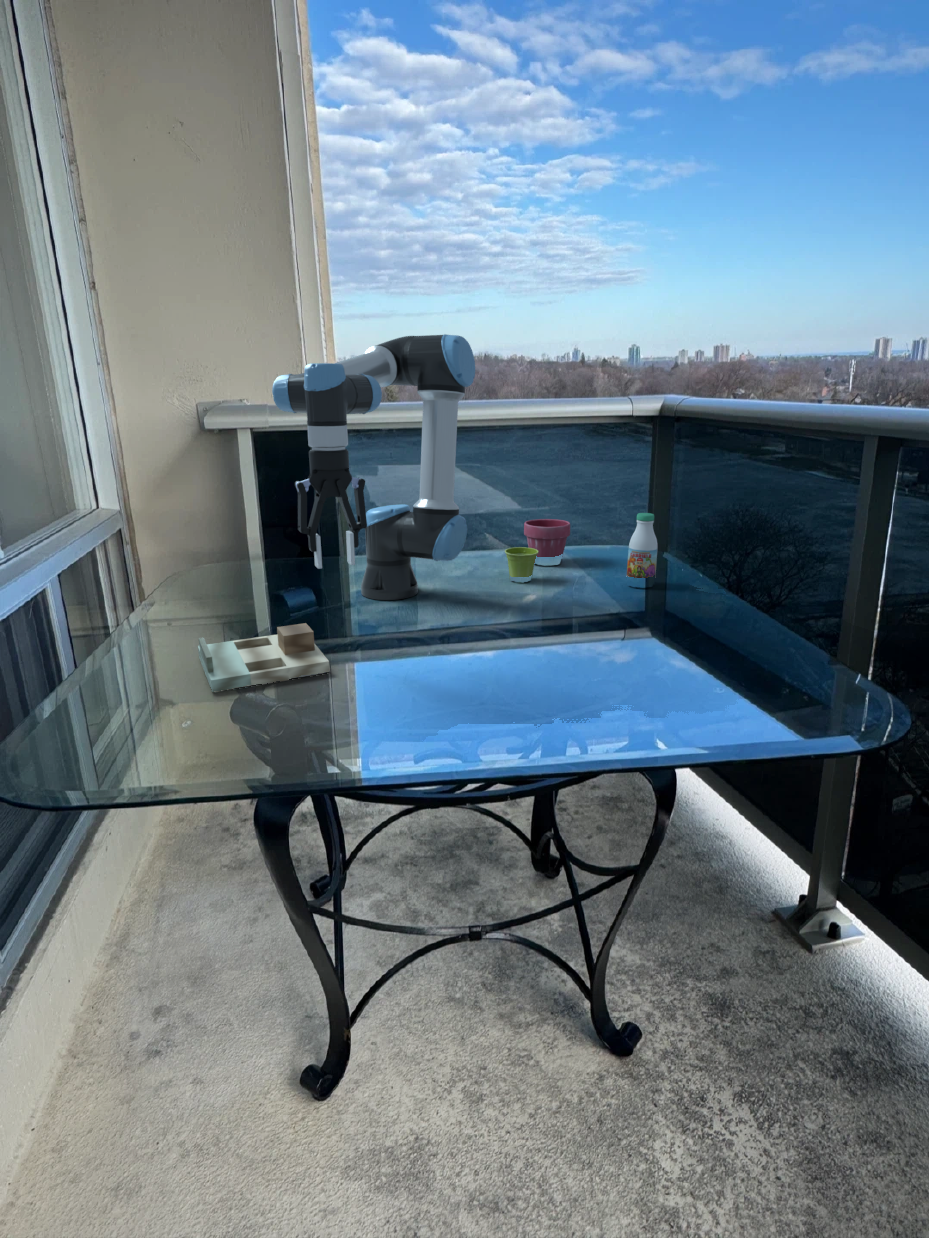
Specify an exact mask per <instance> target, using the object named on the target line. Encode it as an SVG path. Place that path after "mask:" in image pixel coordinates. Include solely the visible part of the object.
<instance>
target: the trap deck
mask: <svg viewBox="0 0 929 1238" xmlns="http://www.w3.org/2000/svg"><path fill="white" fill-rule="evenodd" d="M197 640H198V645H197V652H198V658H199V661H200V663H201V667H202V669H203V672H204V674H205V677H206V679H207V680H206V681H207V682H208V684H209V685H208V686H209V688H210V687H211V688H210V690H211V689H212V690H211V693H212V692H214V691H221V690H227V689H232V688H235V687H243V686H246V685H256V684H262V685H267V683H268V684H274V683H277V682H276V681H280V682H285V681H290V680H289V679H291V678H295V677H299V676H301V675H311V674H318V673H324V672H329V671H330V672H331V670H330V661H329V659H328V658H327V657H326V656H325V655H324V653H323V652H322V651H321V649H320V648H319V647H318V646H317V645H316V643H314V647H315V650H314V651H308V652H301V653H295V654H289V655H285V654H284V653H283V651H282V650H281V649H280V647H279V646H278V634H271V635H264V636H256V637H251V638H244V639H236V640H228V641H222V642H216V643H208V644H207V642H206V638H204V637H198V639H197ZM273 682H274V683H273ZM256 686H257V685H256ZM227 691H228V690H227ZM221 692H222V691H221Z"/></svg>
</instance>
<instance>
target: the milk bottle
mask: <svg viewBox="0 0 929 1238" xmlns="http://www.w3.org/2000/svg"><path fill="white" fill-rule="evenodd" d="M654 523H655V514H654V513H650V512H639V513H637V514H636V527H635V530H634V532H633V533H632V536H631V537H630V540H629V544H628V551H627V553H628V555H627V566H626V577H627V576H628V577H634V578H648V577H653V576H654V575H655V576H656V574H657V573H656V572H657V571H656V570H657V562H658V561H657V559H658V558H657V557H658V539H657V536H656V534H655V531H654V526H653V525H654Z"/></svg>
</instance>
